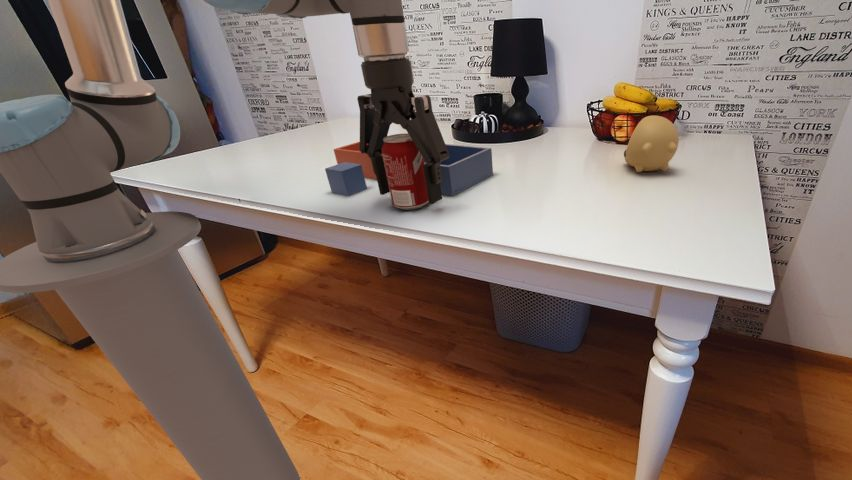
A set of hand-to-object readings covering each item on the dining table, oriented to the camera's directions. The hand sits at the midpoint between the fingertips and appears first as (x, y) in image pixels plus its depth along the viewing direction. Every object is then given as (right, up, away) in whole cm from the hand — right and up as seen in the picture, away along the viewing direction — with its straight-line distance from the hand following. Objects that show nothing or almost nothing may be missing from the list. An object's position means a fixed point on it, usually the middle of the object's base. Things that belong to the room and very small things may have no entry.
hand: (410, 196), depth 72 cm
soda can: (0, -2, +1) cm, 2 cm away
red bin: (-11, +12, +23) cm, 28 cm away
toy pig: (+47, +8, +11) cm, 49 cm away
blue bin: (+5, +6, +12) cm, 14 cm away
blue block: (-15, +3, +10) cm, 18 cm away
